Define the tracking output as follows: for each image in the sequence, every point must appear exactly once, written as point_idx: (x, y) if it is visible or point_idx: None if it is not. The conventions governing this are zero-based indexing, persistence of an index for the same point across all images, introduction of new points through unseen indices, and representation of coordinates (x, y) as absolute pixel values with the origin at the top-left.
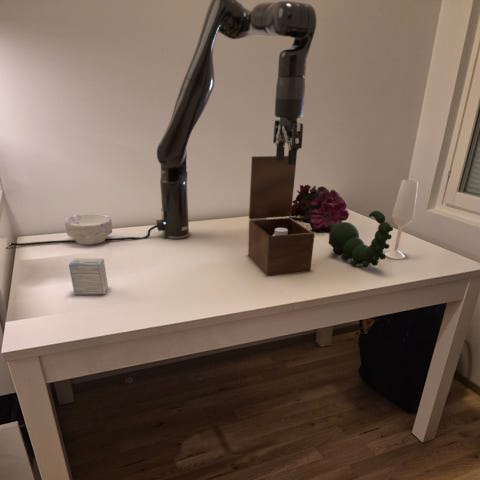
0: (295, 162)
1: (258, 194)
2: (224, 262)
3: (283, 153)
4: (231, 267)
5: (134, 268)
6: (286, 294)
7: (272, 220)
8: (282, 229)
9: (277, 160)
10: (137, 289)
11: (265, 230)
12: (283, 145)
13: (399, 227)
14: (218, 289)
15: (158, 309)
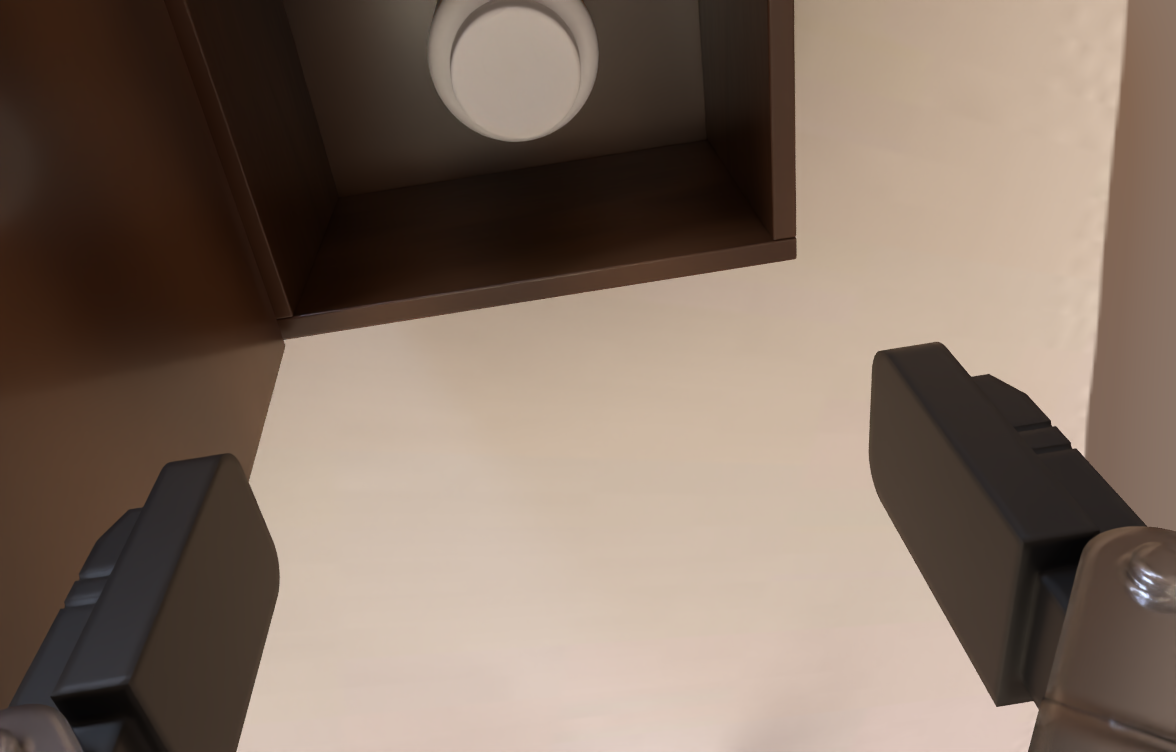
0: (999, 384)
1: (216, 409)
2: (455, 369)
3: (190, 563)
4: (545, 338)
5: (511, 730)
6: (1015, 87)
7: (227, 109)
8: (515, 62)
9: (277, 561)
10: (746, 697)
11: (271, 149)
12: (80, 741)
13: None
14: (836, 423)
15: (949, 624)
